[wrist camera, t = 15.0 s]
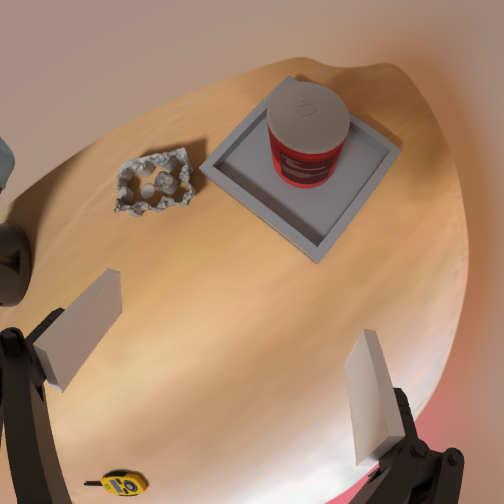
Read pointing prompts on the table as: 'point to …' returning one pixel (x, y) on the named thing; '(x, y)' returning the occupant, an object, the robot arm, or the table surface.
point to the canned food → (306, 132)
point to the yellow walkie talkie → (122, 483)
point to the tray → (297, 199)
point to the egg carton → (162, 181)
